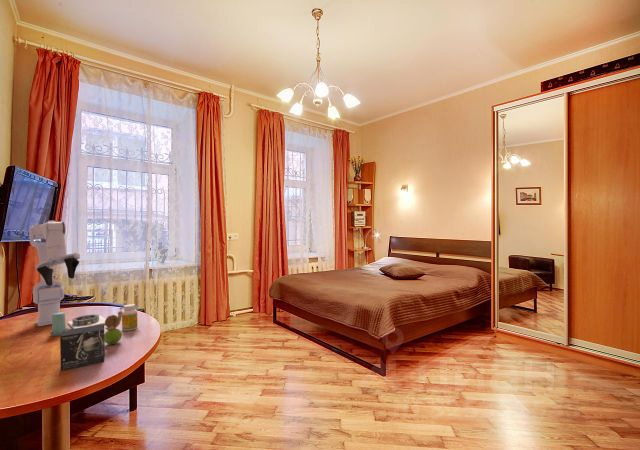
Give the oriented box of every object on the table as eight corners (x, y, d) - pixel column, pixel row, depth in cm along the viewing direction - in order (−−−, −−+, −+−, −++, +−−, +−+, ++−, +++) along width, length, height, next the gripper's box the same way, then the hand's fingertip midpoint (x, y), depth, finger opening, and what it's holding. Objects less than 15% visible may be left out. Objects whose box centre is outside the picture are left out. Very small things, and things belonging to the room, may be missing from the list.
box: (59, 371, 90) (59, 336, 90) (63, 363, 95) (62, 329, 95) (104, 362, 96) (103, 328, 96) (105, 355, 101) (104, 323, 101)
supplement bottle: (130, 331, 123) (129, 307, 123) (118, 330, 124) (118, 306, 124) (140, 327, 129) (140, 303, 128) (129, 326, 130) (129, 303, 130)
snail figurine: (127, 340, 113) (127, 308, 113) (111, 347, 107) (110, 313, 107) (117, 339, 115) (116, 307, 115) (99, 345, 109) (99, 311, 109)
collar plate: (67, 323, 135) (67, 317, 135) (100, 316, 144) (100, 310, 144) (75, 330, 125) (75, 324, 125) (110, 323, 134) (110, 316, 134)
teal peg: (49, 334, 121) (48, 314, 121) (66, 330, 125) (66, 311, 125) (50, 337, 119) (50, 316, 119) (68, 333, 123) (68, 313, 123)
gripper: (28, 252, 117) (31, 286, 113) (69, 240, 120) (74, 272, 116) (42, 257, 124) (45, 289, 120) (81, 245, 127) (85, 276, 123)
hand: (60, 281), depth 118 cm, fingers open, 7 cm apart
